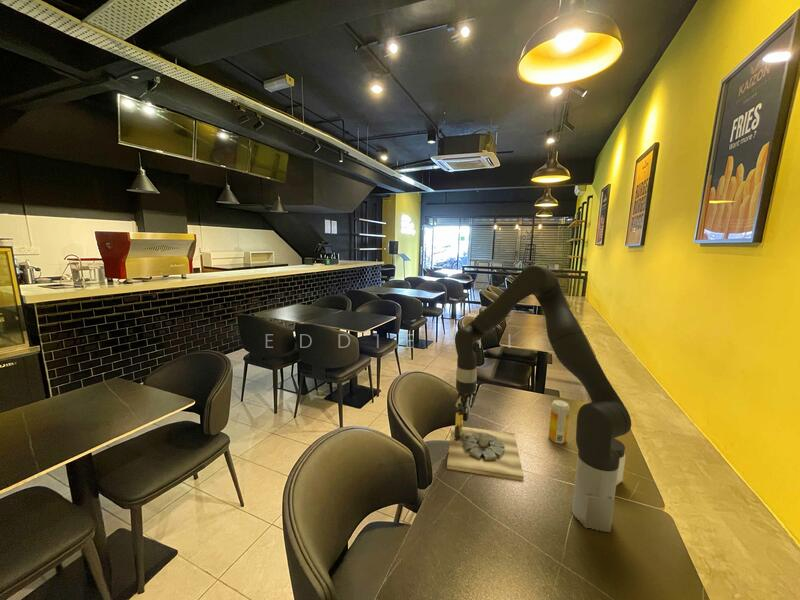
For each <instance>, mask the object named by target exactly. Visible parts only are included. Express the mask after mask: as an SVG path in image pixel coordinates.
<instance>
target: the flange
mask: <svg viewBox="0 0 800 600" xmlns="http://www.w3.org/2000/svg"><path fill="white" fill-rule="evenodd" d="M463 424H464V421H463V413H462V412H459V411H458V412H455V425H454V426H455V427H459V434H458V439H461V440H463V447H464V449H465V451H466V452H469V455H471V456H474V457H476V458H478V459H481V457H482V456H483V458H484V459H485V460H496V458H497V457H499V458H500V457H501V456H502V455H503V454H504V452H505V449H504V448H505V446H504V445H503V443H502V442H501V440H496V439H497V437H495V436H492V435H490V434H488V435H489V437H488V445H489V446H490V447H489V448H484V449H483V448H481V447H478V446H477V444H478V443H479V434H480V433H472V435H469V434H468V435H466V434H463V433H462V427H463ZM481 433H482V432H481Z"/></svg>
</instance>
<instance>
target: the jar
mask: <svg viewBox="0 0 800 600" xmlns="http://www.w3.org/2000/svg"><path fill="white" fill-rule="evenodd" d="M611 448H613V449H614V450H615V451H616V452H617V453H618V455H619V459H620V461H619V469H618V476H617V483H616V486H618V485H619V484H620V483H621V484H622V482H623V478H624V472H625V465H626V463H625V462H626V456H627V455H626V454H625V451H626V446H625V444H624V443H623V442H622V441H621V440H619V439H616V438H613V439H612V440H611Z"/></svg>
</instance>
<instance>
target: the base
mask: <svg viewBox="0 0 800 600" xmlns="http://www.w3.org/2000/svg"><path fill="white" fill-rule="evenodd" d="M481 432H482V433H481ZM462 433H463V434H466V435H468V434H469V435H472V433H480V434H479V443H478V444H477V446H478V447H481V448H483V449H484V448H489V447H490V446H489V445H488V437H489V435H488V434H490V435H492V436H495V437H497V439H496V440H501V442H502V443H503V445H504V446H505V448H504V449H505V452H504V454H503V455H502V456H501V457H500V458H499V457H497V458H496V460H485V459H484V458H483V456H482V457H481V459H478V458H476V457H474V456H471V455H469V452H466V451H465V449H464V447H463V440H461V439H458V434H459V427H455V425H451V429H450V434H449V435H450V436H449V444H448V445H449V446H448V451H447V452H448V453H449V454H448V453H447V459H446V460H447V462H446V469H447V470H452V471H458V472H466V473H471V474H478V475H484V476H490V477H498V478H502V479H503V478H504V479H509V480H510V479H511V480H515V481H523V482H524V479H525V477H524V472H523V468H522V463H521V458H520V454H519V448H518V443H517V440H516V436H515V433H513V432H505V431H498V430H489V429H483V428H476V427H475V428H474V427H467V426H466V427H465V426H462ZM455 438H456V439H455ZM454 440H455V441H454Z"/></svg>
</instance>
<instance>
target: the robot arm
mask: <svg viewBox="0 0 800 600" xmlns="http://www.w3.org/2000/svg"><path fill="white" fill-rule="evenodd" d="M529 296H534V297H535V298H536V300H537V301H538V303H539V306H540V307H541V309H542V311H543V314H544V318H545V327H546V334H547V337H548V341H549V344H550V345H551V349H552V350H553V352H554V355H555V356H556V358H557V360H558V362H560V364H561V365H563V367H564V368H565V369H566V370H568V372H570V373H571V374H572V375H573V376H574V377H575V378H576V379H577V380H578V381H579V382H580V383H581V384H582V385H583V386H584V389H585V391H586V392H587V394H588V396H589V398H590V401H591V402H588V403H585V404H583V405H581V406H580V407H579V409H578V411H577V416H576V427H575V429H576V431H575V432H576V433H575V443H576V446H577V451H578V452H577V460H576V469H575V479H574V486H573V496H572V504H571V505H572V506H571V511H572V514H573V517H575V518H577V519H576V520H577V521H578V520H579V521H580V522H579V521H578V522H579V523H580V524H581V525H582V526H583V527H585V528H584V529H587V528H592V529H591V530H593V529H595V530H594V531H599V530H600V531H599V532H604V533H605V532H606V533H611V530H612V521H613V514H614V507H615V496H616V490H617V485H616V483H617V476H618V469H619V461H620V459H619V455H618V453H617V452H616V451H615V450H614V449H613V448H611V440H612V439H613V438H615V439H616V438H618V437H621V436H623V435H626V434H628V433H629V432H630V431H631V429H632V419H631V415H630V413H629V411H628V409H627V408H626V406H625V404H624V402H623V401H622V399H621V397H620V396H619V395H618V393H617V391H616V390H615V388H614V387H613V386H612V384H611V382H610V380H609V379H608V378H607V376H606V373H605V372H604V369H602V367H601V364H600V362H599V360H598V359H597V357H596V355H595V353H594V351H593V350H592V347H591V345H590V343H589V341H588V339H587V337H586V335H585V333H584V332H583V329H582V328H581V327H580V325H579V322H578V321H577V319H576V317H575V315H574V313H573V311H571V308H570V307H569V305H568V303H567V301H566V299H565V296H564V293H563V290H562V287H561V285H560V282H559V280H558V277H557V275H556V274H555V273H554V271H552V270H551V269H549V268H547V267H546V266H543V265H540V264H531V265H527V266H526V267H525V268H524V269H523V270H522V271H521V272H520V273H519V274H517V276H516V277H515V278H514V279H513V280H512V282H511V283H510V284H509V285H508V286H507V287H506V289H504V291H502V293H501V294H499V296H497V298H496V299H495V300H494V301H493V302H491V304H489V305H488V306H487V307H486V308H484V309H483V310H482V311H481V312H480V313H478V314H477V315H476V316H475V317H474V319H473V320H472V321H471V322H469V323H468V324H467V325H465V326H463V327H461V328H458V330H457V331H456V332H455V336H454V344H455V350H456V354H457V359H456V360H457V362H456V363H457V365H456V371H455V372H456V375H455V388H456V391H457V392H458V395H457V401H454V402H453V405H454V407H455V409H456V410H457V411H458V412H461V413H463V422H467V421H468V420H469V412H470V409H472V408H473V405H474V403H475V400H476V397H477V393H476V390H477V380H478V379H477V376H478V375H477V373H478V371H477V361H478V360H477V353H476V352H475V351H474V349H473V347H474V344H476V343H477V342H479V341H480V340H481V339H482V338H483V337H484V336H485V335H486V334H488V333H489V332H491V331H492V330H493V329H495V328H496V327H498V326H499V325H500V324H501V323H502V322H504V321H505V319H506V318H507V317H508V316H509V314H510V313H511V312H512V310H513V309H514V307H515V306H516V305H517V304H518V303H520V302H521V301H522V300H524V299H526V298H527V297H529Z"/></svg>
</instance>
